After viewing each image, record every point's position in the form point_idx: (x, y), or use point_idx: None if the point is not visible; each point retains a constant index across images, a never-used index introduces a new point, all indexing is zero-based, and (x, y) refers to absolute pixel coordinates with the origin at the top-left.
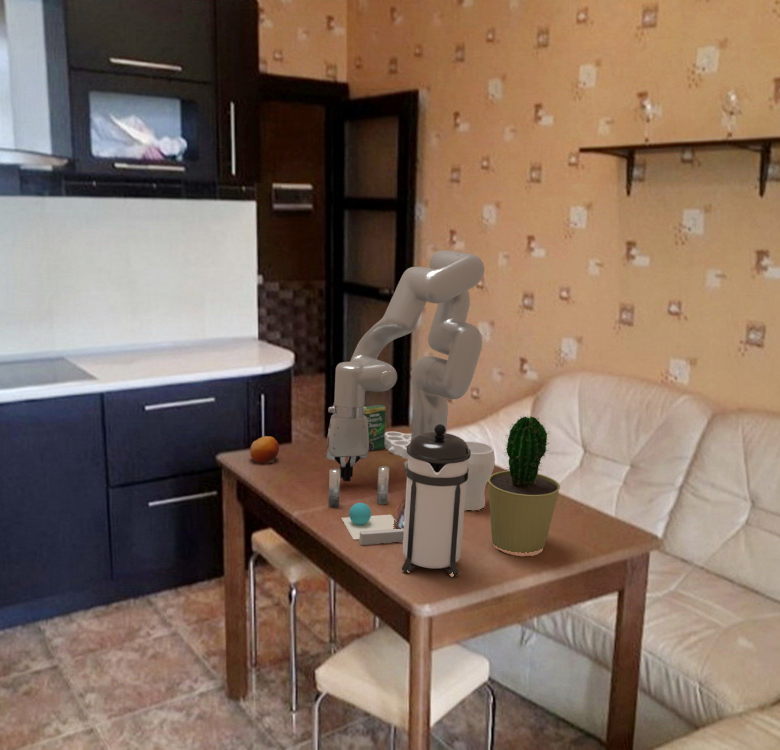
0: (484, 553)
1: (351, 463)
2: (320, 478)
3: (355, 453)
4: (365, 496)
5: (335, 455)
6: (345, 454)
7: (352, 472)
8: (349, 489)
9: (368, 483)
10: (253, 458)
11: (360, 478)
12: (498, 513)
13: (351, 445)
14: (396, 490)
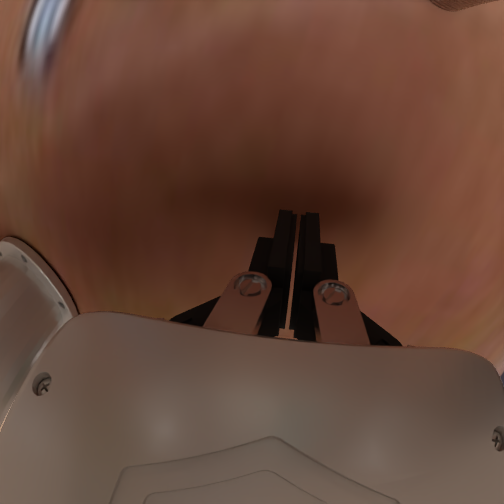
0: None
1: (256, 296)
2: (372, 317)
3: (195, 353)
4: (230, 46)
5: (469, 355)
6: (353, 364)
7: (256, 251)
8: (296, 165)
9: (179, 223)
10: None
11: (206, 282)
12: None
13: (234, 493)
14: (77, 126)
